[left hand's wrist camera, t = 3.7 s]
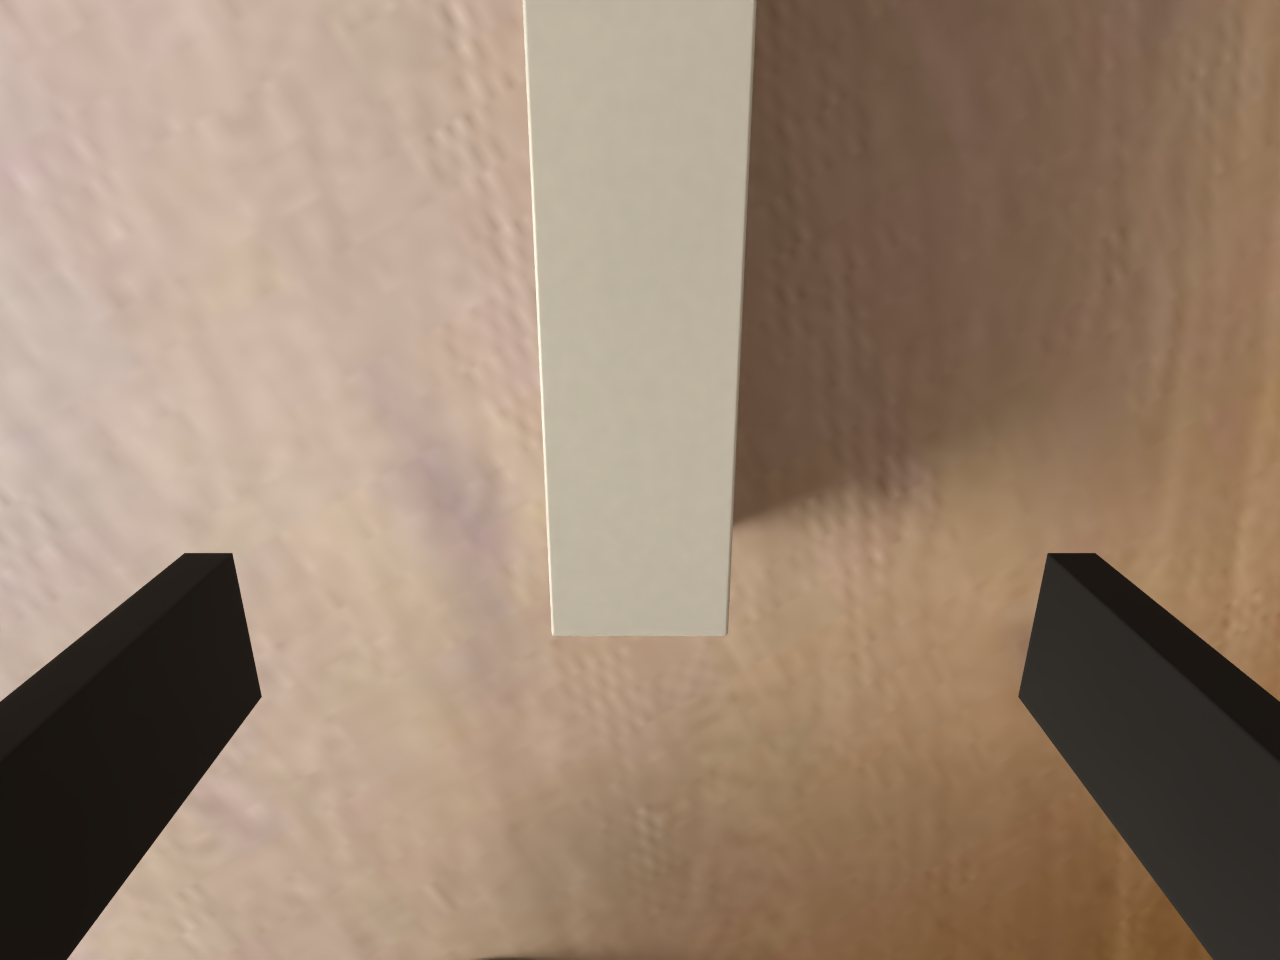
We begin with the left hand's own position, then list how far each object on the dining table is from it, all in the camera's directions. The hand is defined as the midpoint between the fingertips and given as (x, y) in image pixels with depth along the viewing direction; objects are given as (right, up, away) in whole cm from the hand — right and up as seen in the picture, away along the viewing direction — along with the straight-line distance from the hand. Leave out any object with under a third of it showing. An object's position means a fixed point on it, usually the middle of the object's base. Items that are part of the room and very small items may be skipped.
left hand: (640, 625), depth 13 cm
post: (0, +34, +4) cm, 34 cm away
